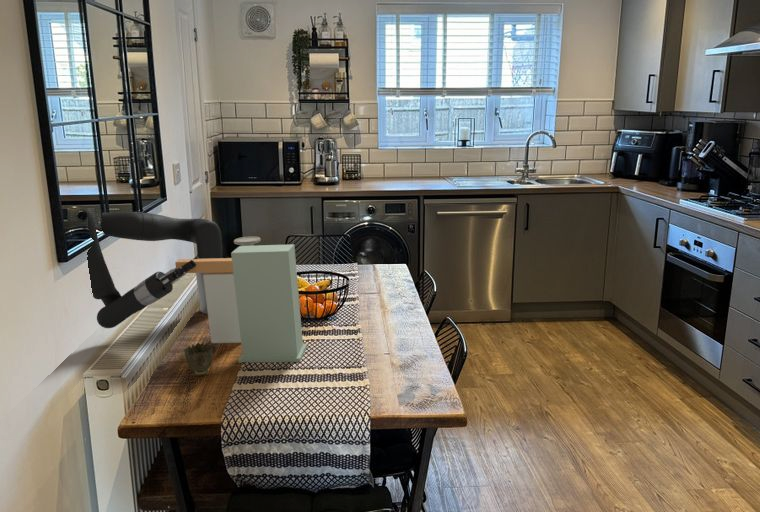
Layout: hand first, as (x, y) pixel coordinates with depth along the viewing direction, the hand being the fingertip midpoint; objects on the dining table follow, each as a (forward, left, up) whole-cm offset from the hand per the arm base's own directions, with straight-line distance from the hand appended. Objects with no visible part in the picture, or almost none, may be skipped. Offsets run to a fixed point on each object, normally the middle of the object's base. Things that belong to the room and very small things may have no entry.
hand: (196, 261), depth 188 cm
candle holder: (-55, 0, -26) cm, 61 cm away
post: (0, +8, -26) cm, 27 cm away
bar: (0, +7, -3) cm, 8 cm away
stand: (+12, +25, -26) cm, 38 cm away
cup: (+25, +8, -26) cm, 37 cm away
